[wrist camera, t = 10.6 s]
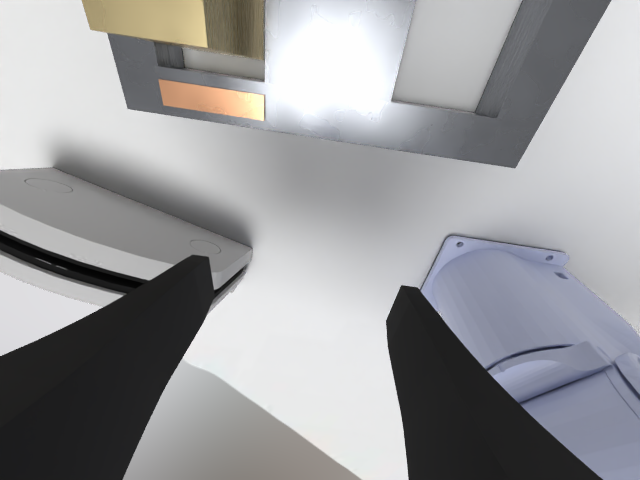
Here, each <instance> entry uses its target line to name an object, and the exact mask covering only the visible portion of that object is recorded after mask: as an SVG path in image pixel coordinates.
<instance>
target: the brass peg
mask: <svg viewBox="0 0 640 480" xmlns="http://www.w3.org/2000/svg"><path fill="white" fill-rule="evenodd" d="M82 3H83V6H84V9H85V13H86V16H87V20H88V23H89V26H90V30H95V31H100V32H105V33H110V34H115V35H121V36H126V37H131V38H136V39H141V40H147V41H152V42H157V43H162V44H167V45H173V46H178V47H183V48H188V49H193V50H200V51H206V52H213V53H219V54H226V55H232V56H239V57H245V58H252V59H258V60H263V0H82Z"/></svg>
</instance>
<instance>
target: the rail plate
mask: <svg viewBox="0 0 640 480" xmlns="http://www.w3.org/2000/svg"><path fill="white" fill-rule="evenodd" d="M610 2H611V0H523V1H522V4H521V6H520V8H519V11H518V13H517V15H516V18H515V20H514V22H513V25H512V27H511V30H510V32H509V34H508V37H507V39H506V41H505V44H504V46H503V48H502V51H501V53H500V55H499V58H498V60H497V62H496V65H495V67H494V69H493V72H492V74H491V76H490V79H489V81H488V83H487V86H486V88H485V90H484V93H483V95H482V97H481V100H480V102H479V105H478V107H477V109H476V112H475V113H474V112H467V111H461V110H454V109H448V108H441V107H435V106H428V105H422V104H415V103H409V102H402V101H396V100H391V98H392V94H393V90H394V86H395V82H396V78H397V74H398V70H399V66H400V62H401V58H402V54H403V50H404V47H405V43H406V39H407V35H408V31H409V27H410V23H411V19H412V15H413V11H414V7H415V3H416V0H265V80H259V79H253V78H246V77H240V76H233V75H227V74H220V73H213V72H207V71H200V70H194V69H187V68H184V61H183V54H182V47H178V46H173V45H167V44H162V43H157V42H152V41H147V40H141V39H136V38H131V37H126V36H121V35H115V34H110V33H107V34H108V37H109V41H110V45H111V49H112V52H113V56H114V60H115V63H116V67H117V71H118V74H119V78H120V82H121V85H122V89H123V93H124V97H125V100H126V104H127V108H128V109H131V110H138V111H145V112H151V113H158V114H164V115H171V116H177V117H184V118H190V119H197V120H203V121H210V122H216V123H223V124H230V125H236V126H243V127H249V128H256V129H262V130H269V131H275V132H282V133H288V134H295V135H301V136H308V137H314V138H321V139H328V140H334V141H341V142H347V143H354V144H360V145H367V146H373V147H380V148H386V149H393V150H399V151H406V152H413V153H419V154H426V155H432V156H439V157H445V158H452V159H458V160H465V161H471V162H478V163H484V164H491V165H497V166H504V167H511V168H516V166H517V164H518V163H519V161H520V159H521V157H522V156H523V154H524V152H525V150H526V149H527V147H528V145H529V143H530V142H531V140H532V138H533V136H534V135H535V133H536V131H537V129H538V128H539V126H540V124H541V122H542V121H543V119H544V117H545V115H546V114H547V112H548V110H549V108H550V107H551V105H552V103H553V101H554V100H555V98H556V96H557V94H558V93H559V91H560V89H561V87H562V86H563V84H564V82H565V80H566V79H567V77H568V75H569V73H570V72H571V70H572V68H573V66H574V65H575V63H576V61H577V59H578V58H579V56H580V54H581V52H582V51H583V49H584V47H585V45H586V44H587V42H588V40H589V38H590V37H591V35H592V33H593V31H594V30H595V28H596V26H597V24H598V23H599V21H600V19H601V17H602V16H603V14H604V12H605V10H606V9H607V7H608V5H609V3H610Z"/></svg>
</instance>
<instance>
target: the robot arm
mask: <svg viewBox="0 0 640 480" xmlns="http://www.w3.org/2000/svg"><path fill="white" fill-rule="evenodd" d="M458 242H461V243H460V244H457V243H458ZM456 244H457V245H456ZM547 256H548V257H547ZM568 260H569V256H568V255H567V254H566V253H564V252H558V251H551V250H545V249H538V248H531V247H525V246H518V245H512V244H505V243H499V242H492V241H485V240H479V239H472V238H466V237H459V236H450V237H448V238H447V239H446V241H445V243H444V245H443V247H442V249H441V251H440V253H439V255H438V257H437V259H436V261H435V263H434V265H433V267H432V269H431V271H430V273H429V275H428V277H427V279H426V281H425V283H424V285H423V287H422V289H421V291H420V290H419V289H418V288H417V287H410V286H403V285H401V287H400V290H399V292H398V294H397V297H396V299H395V301H394V304H393V306H392V308H391V311H390V313H389V315H388V318H387V320H386V326H387V340H388V349H389V355H390V360H391V365H392V370H393V375H394V380H395V385H396V390H397V395H398V400H399V405H400V410H401V416H402V422H403V429H404V438H405V447H406V456H407V466H408V477H409V480H640V337H639V335H638V334H637V332H636V331H635V330H634V329H633V327H632V326H631V325H630V324H629V323H628V322H626V321H625V320H624V319H623V318H622V317H621V316H619V315H618V314H617V313H616V312H615V311H614V310H613V309H611V308H610V307H609V306H608V305H607V304H606V303H604V302H603V301H602V300H601V299H600V298H599V297H597V296H596V295H595V294H594V293H593V292H592V291H590V290H589V289H588V288H587V287H586V286H585V285H583V284H582V283H581V282H580V281H579V280H578V279H577V278H575V277H574V276H573V275H572V274H571V273H570V272H568V271H567V270H566V269H565V268H564V267H563V266H564V265H565V264H566V263H567V261H568ZM214 297H215V293H214V286H213V280H212V273H211V267H210V261H209V257H207V256H200V255H193V254H192V255H191V256H189V257H187V258H185V259H184V260H182V261H181V262H179V263H177V264H176V265H174V266H172V267H171V268H169V269H168V270H166V271H164V272H163V273H161V274H160V275H158V276H156V277H155V278H153V279H151V280H150V281H148V282H146V283H145V284H143V285H141V286H140V287H138V288H136V289H135V290H133V291H131V292H130V293H128V294H126V295H124V296H122V297H121V298H119V299H117V300H115V301H113V302H112V303H110V304H108V305H106V306H105V307H103V308H101V309H99V310H98V311H96V312H94V313H92V314H90V315H88V316H86V317H84V318H82V319H80V320H78V321H76V322H74V323H72V324H70V325H68V326H66V327H64V328H62V329H60V330H58V331H56V332H54V333H52V334H50V335H48V336H45V337H43V338H41V339H39V340H37V341H34V342H32V343H30V344H28V345H25V346H23V347H21V348H18V349H16V350H14V351H11V352H9V353H7V354H5V355H2V356H0V480H122V479H123V477H124V475H125V472H126V470H127V468H128V465H129V463H130V461H131V459H132V456H133V454H134V452H135V450H136V448H137V445H138V443H139V441H140V439H141V437H142V434H143V432H144V430H145V427H146V426H147V423H148V421H149V419H150V417H151V415H152V413H153V411H154V409H155V407H156V405H157V403H158V401H159V398H160V396H161V394H162V392H163V390H164V389H165V387H166V385H167V383H168V381H169V380H170V378H171V376H172V374H173V373H174V371H175V369H176V368H177V366H178V364H179V363H180V361H181V359H182V358H183V356H184V354H185V353H186V351H187V349H188V348H189V346H190V344H191V342H192V341H193V339H194V337H195V336H196V334H197V332H198V331H199V329H200V327H201V325H202V324H203V322H204V320H205V318H206V316H207V313H208V311H209V309H210V306H211V304H212V302H213V299H214ZM437 311H440V313H441V315H442V317H443V319H442V318H441V316H440V315H439V314H438V313H437Z"/></svg>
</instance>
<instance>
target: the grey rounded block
mask: <svg viewBox="0 0 640 480" xmlns="http://www.w3.org/2000/svg"><path fill="white" fill-rule="evenodd" d="M252 249H253V248H251V247H248V246H246V245H243V244H241V243H238V242H236V241H233V240H231V239H228V238H226V237H223V236H221V235H218V234H216V233H213V232H211V231H209V230H206V229H204V228H201V227H199V226H196V225H194V224H191V223H189V222H186V221H184V220H181V219H179V218H176V217H174V216H171V215H169V214H166V213H164V212H161V211H159V210H156V209H154V208H152V207H149V206H147V205H144V204H142V203H139V202H137V201H134V200H132V199H129V198H127V197H124V196H122V195H119V194H117V193H114V192H112V191H109V190H107V189H104V188H102V187H99V186H97V185H94V184H92V183H90V182H87V181H85V180H82V179H80V178H77V177H75V176H72V175H70V174H67V173H65V172H62V171H60V170H57V169H55V168H31V169H9V170H0V272H2V273H4V274H7V275H9V276H11V277H13V278H16V279H18V280H20V281H22V282H25V283H27V284H30V285H33V286H35V287H38V288H41V289H43V290H46V291H50V292H53V293H56V294H59V295H62V296H65V297H68V298H72V299H75V300H79V301H82V302H86V303H89V304H93V305H98V306H102V307H105V306H106V305H108V304H110V303H112V302H113V301H115V300H117V299H119V298H121V297H122V296H124V295H126V294H128V293H130V292H131V291H133V290H135V289H136V288H138V287H140V286H141V285H143V284H145V283H146V282H148V281H150V280H151V279H153V278H155V277H156V276H158V275H160V274H161V273H163V272H164V271H166V270H168V269H169V268H171V267H172V266H174V265H176V264H177V263H179V262H181V261H182V260H184V259H185V258H187V257H189V256H191V255H192V254H193V255H200V256H207V257H209V261H210V267H211V273H212V280H213V286H214V293H215V297H214V299H213V302H212V304H211V306H210V309H209V311H208V313H209V312H210V311H211V310H212V309H213V308H214V307H215V306H216V305H217V304H218V303H219V302H220V301H221V300H222V299H223V298H224V297H225V296H226V295H227V294H228V293H229V292H231V293H232V292H233V291H234V290H235V288H236V287H237V285H238V284H239V282H240V281H241V279H242V278H243V276H244V275H245V272H242V271H243V267H244V266H245V265H246V264H247V263H248V262H250V261H251V257H252ZM208 313H207V314H208Z"/></svg>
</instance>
